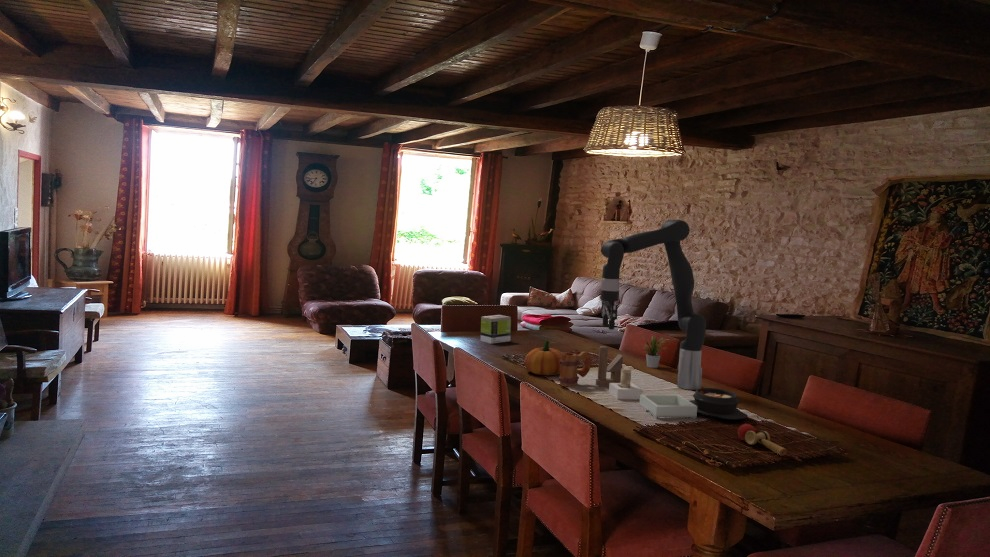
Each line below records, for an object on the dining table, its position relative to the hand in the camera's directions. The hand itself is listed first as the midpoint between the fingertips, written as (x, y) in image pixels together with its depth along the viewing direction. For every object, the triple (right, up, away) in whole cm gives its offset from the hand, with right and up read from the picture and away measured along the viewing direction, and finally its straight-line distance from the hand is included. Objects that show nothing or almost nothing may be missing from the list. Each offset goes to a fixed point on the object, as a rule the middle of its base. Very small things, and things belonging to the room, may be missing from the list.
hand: (608, 327), depth 271 cm
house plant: (+33, -24, +54) cm, 68 cm away
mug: (-13, -26, +9) cm, 31 cm away
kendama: (+40, -35, -60) cm, 80 cm away
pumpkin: (-24, -24, +32) cm, 46 cm away
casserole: (+37, -32, -24) cm, 54 cm away
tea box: (-47, -16, +104) cm, 116 cm away
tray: (+18, -30, -24) cm, 43 cm away
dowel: (+5, -27, -7) cm, 29 cm away
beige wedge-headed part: (+2, -27, +10) cm, 29 cm away
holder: (+5, -28, -7) cm, 30 cm away
